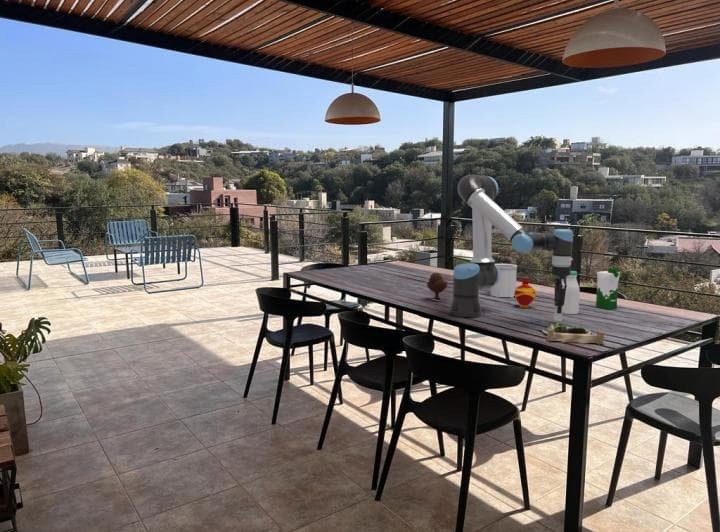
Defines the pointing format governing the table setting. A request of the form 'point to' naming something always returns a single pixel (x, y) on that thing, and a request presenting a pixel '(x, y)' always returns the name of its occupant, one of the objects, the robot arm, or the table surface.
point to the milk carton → (607, 289)
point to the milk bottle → (571, 295)
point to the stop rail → (575, 337)
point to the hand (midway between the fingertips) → (558, 320)
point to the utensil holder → (505, 281)
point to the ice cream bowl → (436, 284)
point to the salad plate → (566, 329)
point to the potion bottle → (525, 293)
